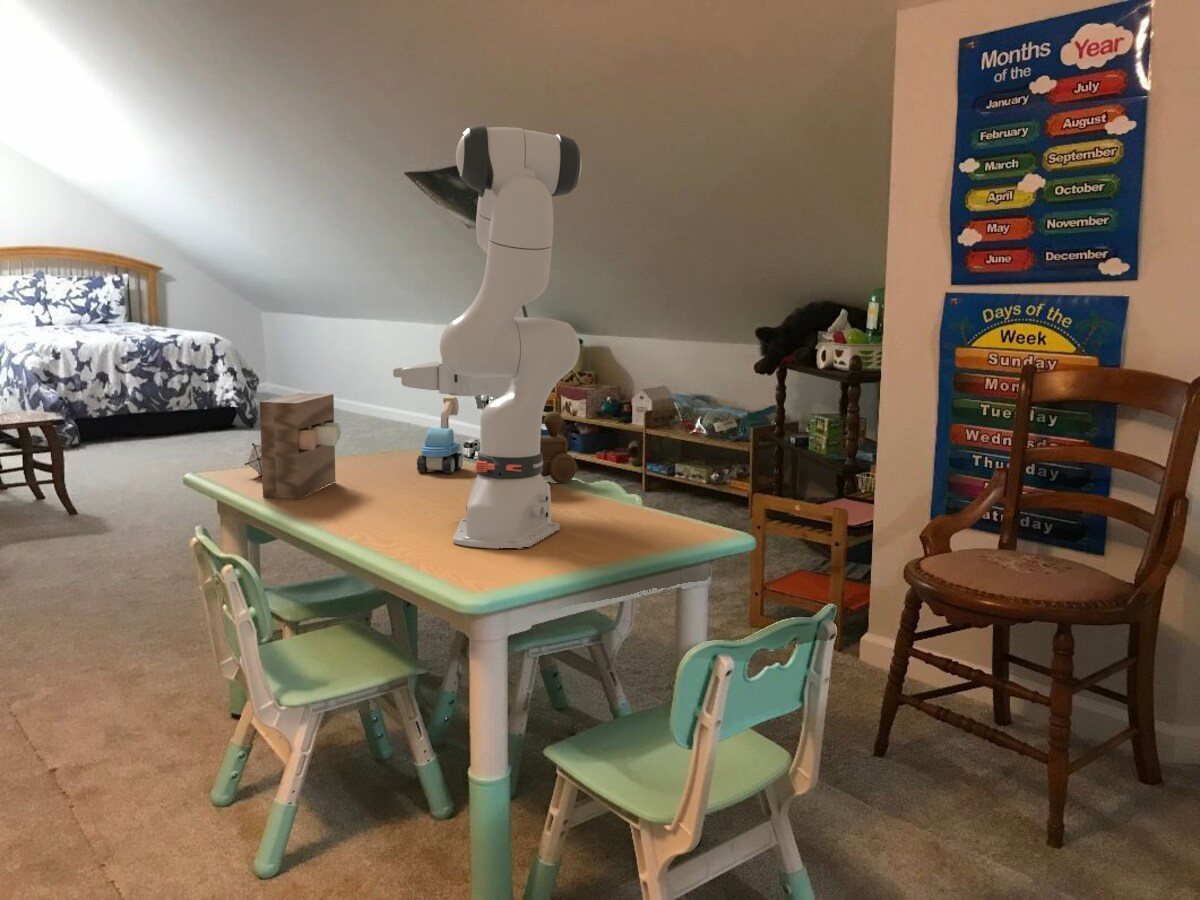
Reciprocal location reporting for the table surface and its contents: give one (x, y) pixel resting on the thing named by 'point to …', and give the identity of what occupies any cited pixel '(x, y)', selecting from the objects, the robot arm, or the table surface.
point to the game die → (256, 459)
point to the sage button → (333, 426)
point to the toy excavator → (441, 443)
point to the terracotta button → (307, 439)
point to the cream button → (326, 435)
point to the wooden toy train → (556, 451)
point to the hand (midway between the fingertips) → (395, 372)
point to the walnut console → (295, 445)
